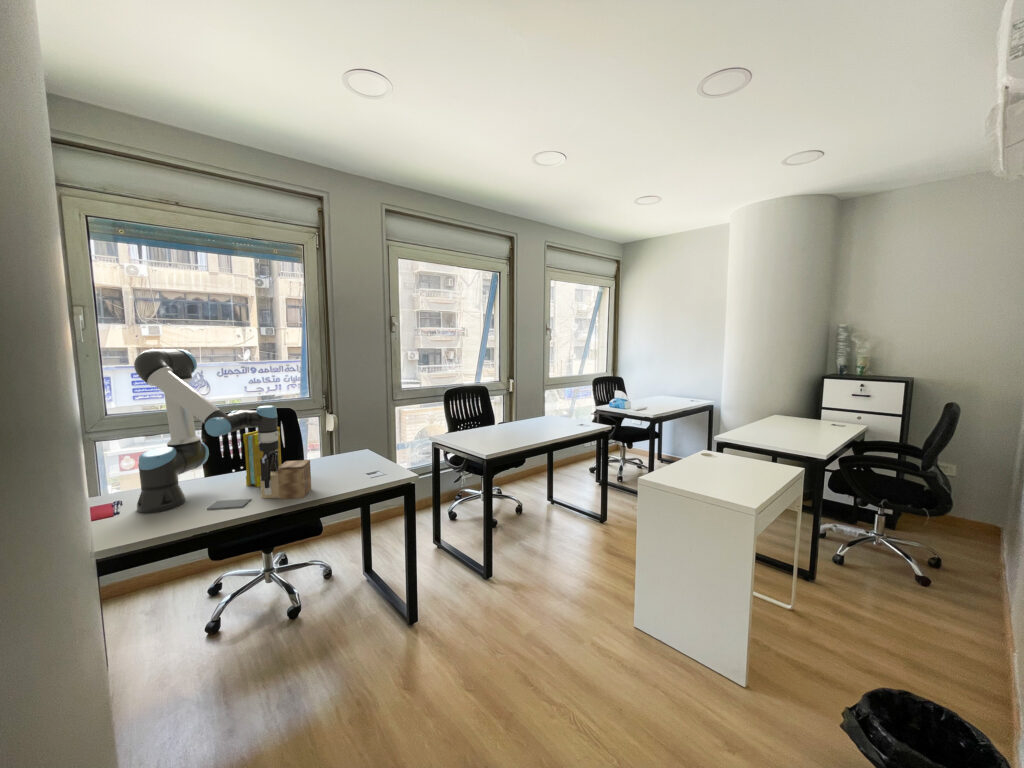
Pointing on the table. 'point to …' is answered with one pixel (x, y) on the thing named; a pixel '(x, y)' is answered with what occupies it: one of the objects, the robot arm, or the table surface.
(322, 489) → the table surface
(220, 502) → the pad
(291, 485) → the wooden box
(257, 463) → the book
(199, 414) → the robot arm
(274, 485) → the blank
